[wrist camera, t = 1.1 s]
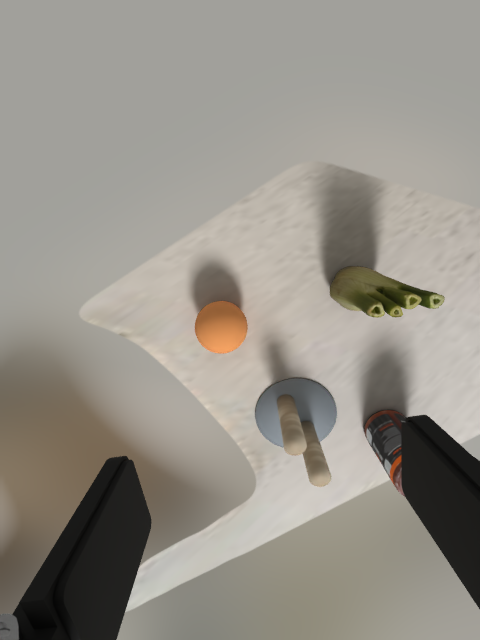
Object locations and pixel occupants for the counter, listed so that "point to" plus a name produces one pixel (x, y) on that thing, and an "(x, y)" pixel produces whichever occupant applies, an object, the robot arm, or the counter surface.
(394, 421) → the supplement bottle
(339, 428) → the counter surface
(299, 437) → the front pin
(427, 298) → the fennel bulb
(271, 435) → the light blue plate
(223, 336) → the ball
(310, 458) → the back pin
